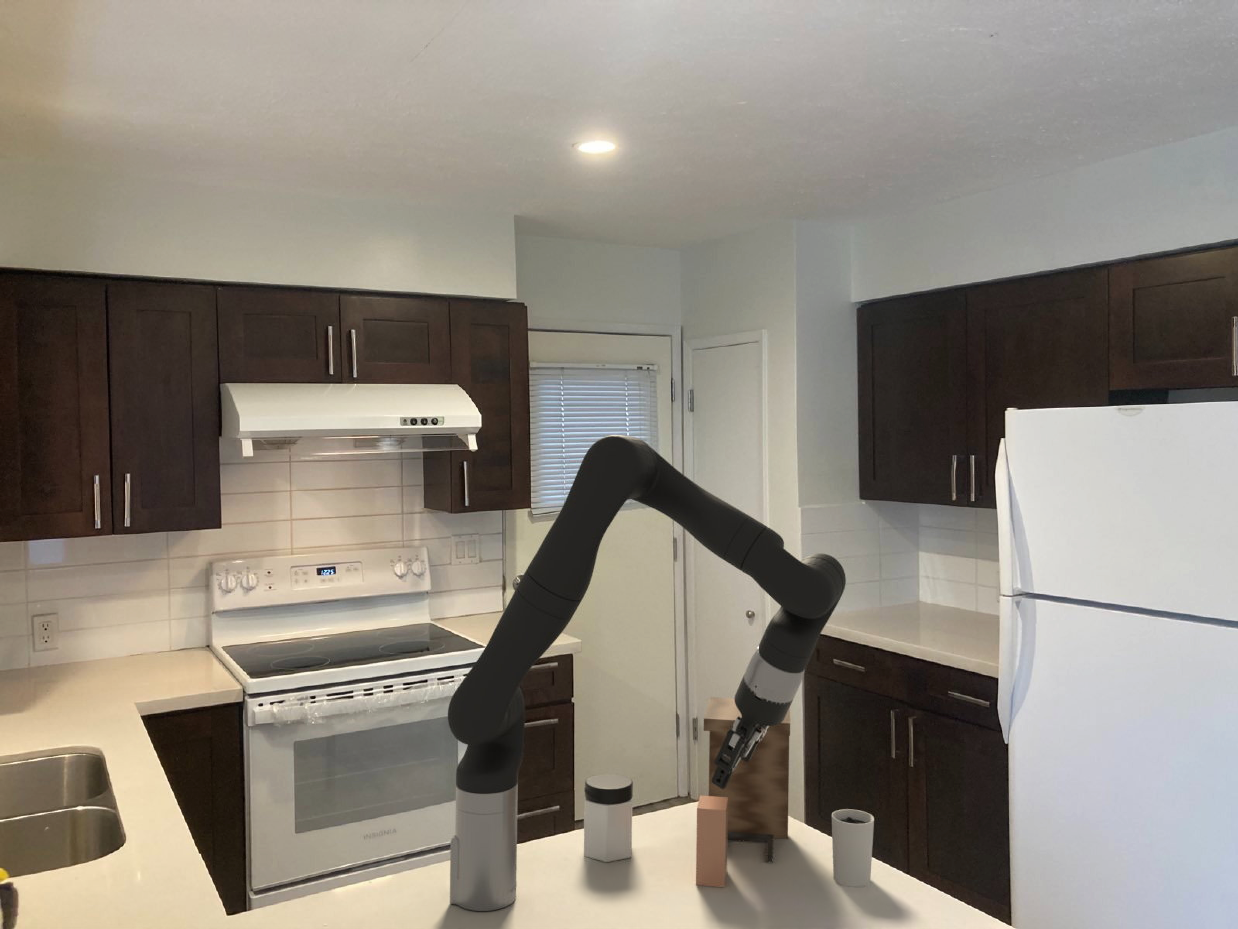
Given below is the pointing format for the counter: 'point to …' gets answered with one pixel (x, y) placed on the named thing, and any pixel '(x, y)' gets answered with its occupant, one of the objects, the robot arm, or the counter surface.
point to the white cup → (852, 847)
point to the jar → (608, 817)
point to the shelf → (752, 778)
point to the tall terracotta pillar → (712, 841)
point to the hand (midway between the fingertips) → (730, 771)
